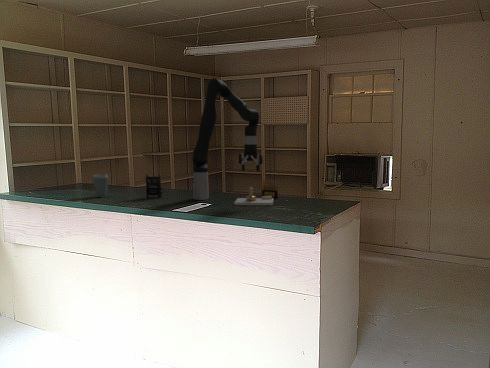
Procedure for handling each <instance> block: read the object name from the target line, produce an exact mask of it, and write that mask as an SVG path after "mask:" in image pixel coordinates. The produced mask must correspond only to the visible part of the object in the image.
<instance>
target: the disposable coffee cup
mask: <svg viewBox="0 0 490 368" xmlns="http://www.w3.org/2000/svg"><path fill="white" fill-rule="evenodd" d="M91 179H92V183H93V188H94V191H95V196H96V198H98V197H101V198H106V197H107V196H108V188H109V186H108V185H109V175H108V173H97V174H93V175H92V177H91Z"/></svg>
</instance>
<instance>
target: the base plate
mask: <svg viewBox="0 0 490 368" xmlns="http://www.w3.org/2000/svg"><path fill="white" fill-rule="evenodd" d="M274 200H275V198H272V196H262V195H261V197H259V198H258V197H256V200H246V197H244V198H243V197H238V198H236V199H235V201H234V202H233V203H234V206H273V204H274V203H275V202H274Z"/></svg>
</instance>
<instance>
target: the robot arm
mask: <svg viewBox="0 0 490 368" xmlns="http://www.w3.org/2000/svg"><path fill="white" fill-rule="evenodd" d="M217 96H218V97H221V98H223V99H225V100H226V102H227V103H228V104H229V106H230V107H231V108H232V109H233V110H234V111H236V112H237V113H238V114H239V116H240V118H241V120H243V121H245V122H248V125H246V126H245V127H244V138H243V139H244V140H243V142H244V144H243V145H244V146H243V151H244V153H242V152H241V153H239V154H238V164H240V165H241V170H242V172H245V171H246V165H245V164H246V162H254V163H255V165H256V172H259V171H260V165H262V164H263V162H264V160H263V159H264V157H263V153H258V139H257V128H258V125H259V120H260V114H259V112H258V110H257V109H255V108H253V109H252V108H248V105H247V103H246V102H244V101H243V100H242V99H241V98H240V97H239V96H237V95H236V94H235V93H234V92H233V91H232V90H231V89H230V88H229V86H228V84H226V83H225V82H224V81H223V80H220V79H218V78H214V77H213V78H211V79H210V80H209V81H208V84H207V88H206V94H205V102H204V105H203V111H202V114H201V118H200V122H199V127H198V138H197V141H196V145H195V147H194V148H193V150H192V170H193V173H192V174H193V184H192V198H193V200H197V201H203V200H205V201H206V200H208V199H209V198H210V195H209V164H208V156H209V147H210V143H211V138H212V136H213V133H214V129H215V127H216V122H217V120H218V119H217V118H218V114H217V113H218V112H217V109H216V99H217ZM243 158H244V159H243ZM258 158H259V160H258ZM209 200H210V199H209Z"/></svg>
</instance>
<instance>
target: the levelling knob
mask: <svg viewBox="0 0 490 368" xmlns="http://www.w3.org/2000/svg"><path fill="white" fill-rule="evenodd" d="M248 192H249V194H248V195H246V197H245V198H246V200H256V198H257V195H254V187H252V186H250V187H249V191H248Z"/></svg>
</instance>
